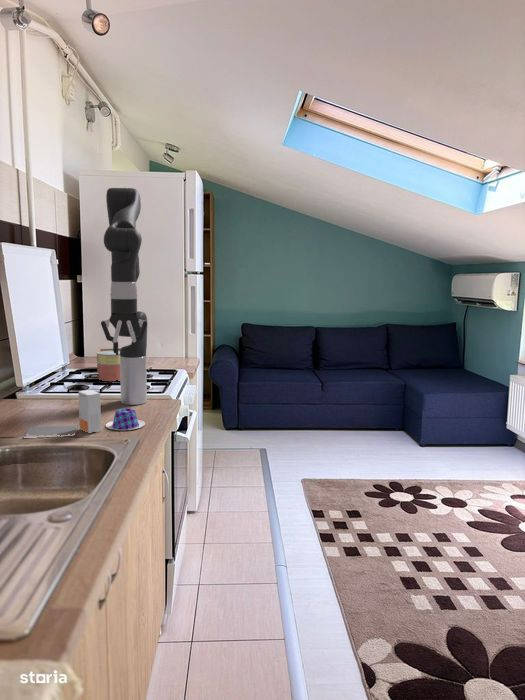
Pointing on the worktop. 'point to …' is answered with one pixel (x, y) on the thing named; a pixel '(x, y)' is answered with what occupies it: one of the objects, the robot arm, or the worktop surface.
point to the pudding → (125, 420)
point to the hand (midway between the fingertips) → (124, 354)
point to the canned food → (108, 366)
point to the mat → (52, 430)
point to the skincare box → (89, 411)
